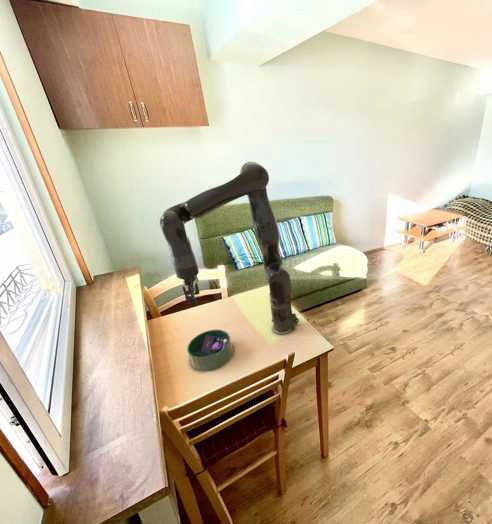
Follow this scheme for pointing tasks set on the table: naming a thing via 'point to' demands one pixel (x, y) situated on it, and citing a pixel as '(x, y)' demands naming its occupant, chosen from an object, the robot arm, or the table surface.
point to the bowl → (209, 360)
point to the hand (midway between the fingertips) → (195, 299)
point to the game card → (216, 346)
